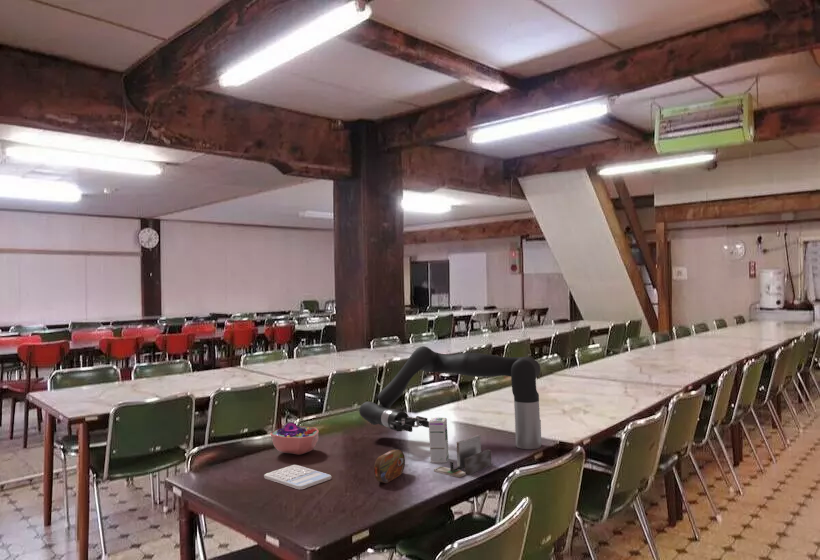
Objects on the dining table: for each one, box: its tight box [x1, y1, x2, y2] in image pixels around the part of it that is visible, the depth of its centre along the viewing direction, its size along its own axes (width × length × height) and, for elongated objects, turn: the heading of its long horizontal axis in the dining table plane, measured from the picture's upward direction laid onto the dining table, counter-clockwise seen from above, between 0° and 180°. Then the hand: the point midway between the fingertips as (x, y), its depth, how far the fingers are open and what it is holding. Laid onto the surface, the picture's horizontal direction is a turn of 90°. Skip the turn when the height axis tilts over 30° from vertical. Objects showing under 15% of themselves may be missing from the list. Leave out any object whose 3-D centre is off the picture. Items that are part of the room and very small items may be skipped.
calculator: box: [263, 464, 332, 490], centre depth 188 cm, size 13×20×2 cm, turn 49°
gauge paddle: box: [449, 434, 482, 472], centre depth 191 cm, size 16×1×9 cm, turn 138°
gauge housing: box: [433, 449, 492, 478], centre depth 193 cm, size 18×12×5 cm, turn 138°
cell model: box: [269, 421, 319, 456], centre depth 217 cm, size 17×20×11 cm
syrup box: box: [428, 417, 450, 464], centre depth 202 cm, size 6×6×14 cm
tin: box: [373, 449, 406, 484], centre depth 185 cm, size 15×3×8 cm, turn 149°
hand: (420, 426), depth 210 cm, fingers open, 8 cm apart
